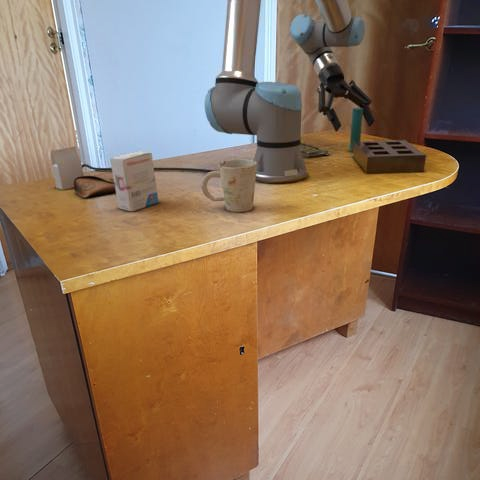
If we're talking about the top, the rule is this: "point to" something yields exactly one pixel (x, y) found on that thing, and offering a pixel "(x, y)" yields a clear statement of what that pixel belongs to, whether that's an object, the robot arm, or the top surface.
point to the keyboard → (311, 151)
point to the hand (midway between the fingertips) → (355, 126)
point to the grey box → (66, 167)
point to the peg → (356, 126)
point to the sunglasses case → (94, 185)
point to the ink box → (134, 180)
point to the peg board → (388, 156)
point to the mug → (234, 184)
